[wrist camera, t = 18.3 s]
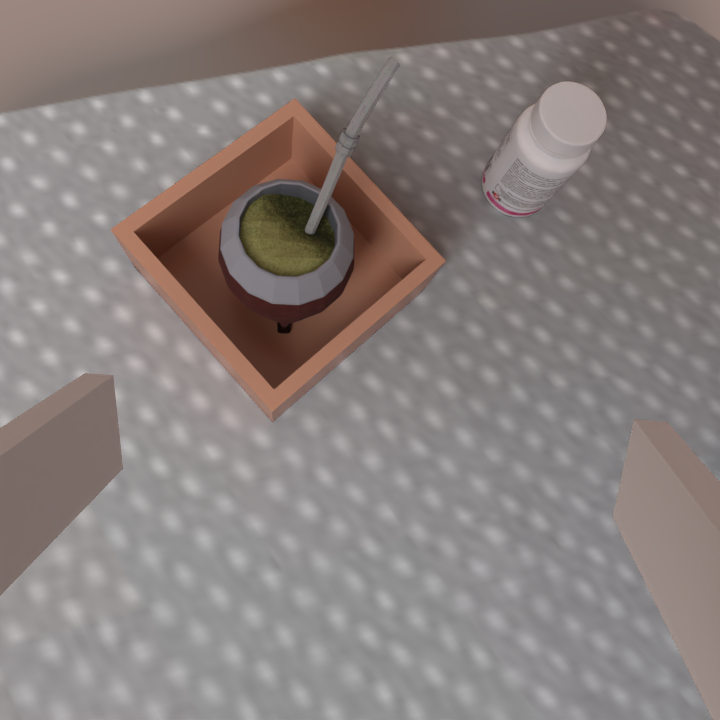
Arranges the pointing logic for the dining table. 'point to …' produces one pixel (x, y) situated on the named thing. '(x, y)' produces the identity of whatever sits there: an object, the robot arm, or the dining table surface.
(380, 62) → the dining table surface
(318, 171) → the box
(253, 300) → the mate gourd
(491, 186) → the pill bottle
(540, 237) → the dining table surface
